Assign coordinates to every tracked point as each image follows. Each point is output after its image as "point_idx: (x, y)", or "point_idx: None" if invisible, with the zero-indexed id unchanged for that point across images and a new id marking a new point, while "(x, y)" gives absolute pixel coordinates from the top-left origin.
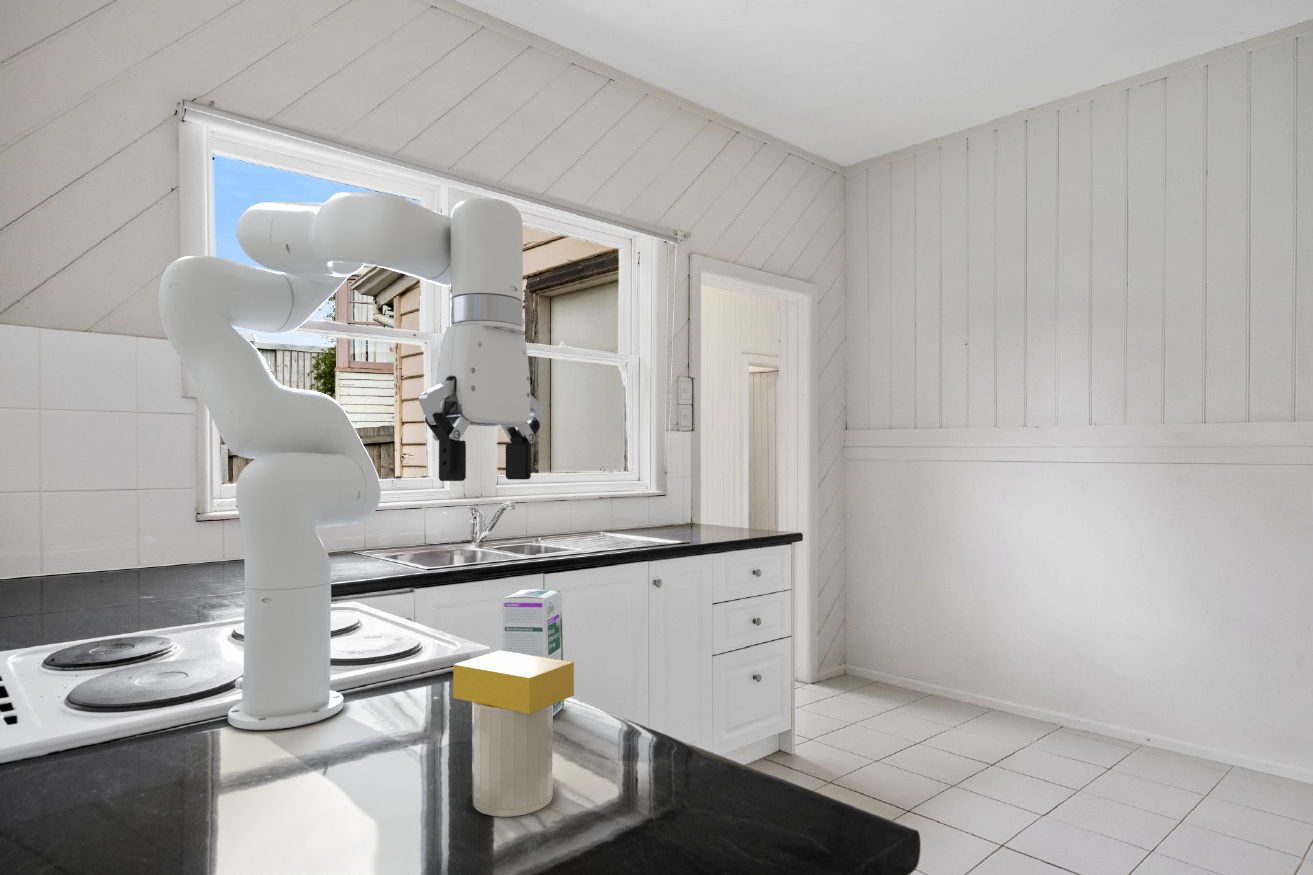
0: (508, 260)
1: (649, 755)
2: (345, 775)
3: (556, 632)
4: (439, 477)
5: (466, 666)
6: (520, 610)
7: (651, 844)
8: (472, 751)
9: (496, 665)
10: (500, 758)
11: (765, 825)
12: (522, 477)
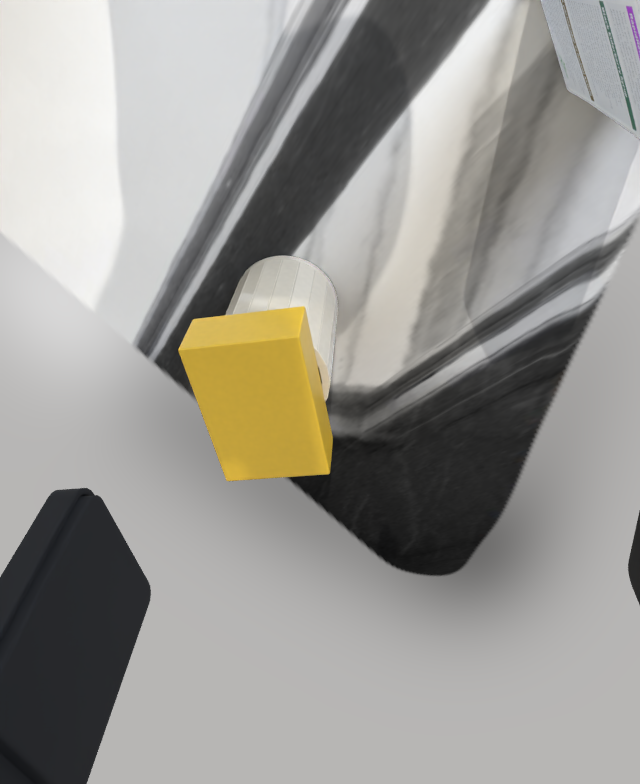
0: None
1: (512, 342)
2: (137, 10)
3: None
4: (52, 498)
5: (188, 376)
6: (636, 68)
7: None
8: (227, 309)
9: (228, 407)
10: None
11: (412, 510)
12: (631, 559)
